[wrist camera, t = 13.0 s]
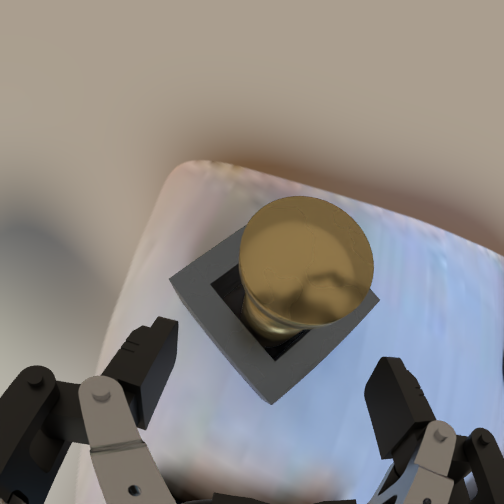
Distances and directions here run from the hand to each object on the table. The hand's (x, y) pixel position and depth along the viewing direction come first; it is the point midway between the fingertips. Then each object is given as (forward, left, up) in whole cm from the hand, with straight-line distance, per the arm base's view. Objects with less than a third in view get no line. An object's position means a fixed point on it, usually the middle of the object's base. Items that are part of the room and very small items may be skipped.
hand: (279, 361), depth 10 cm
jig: (-3, -3, -9) cm, 10 cm away
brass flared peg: (-3, -2, -9) cm, 10 cm away
